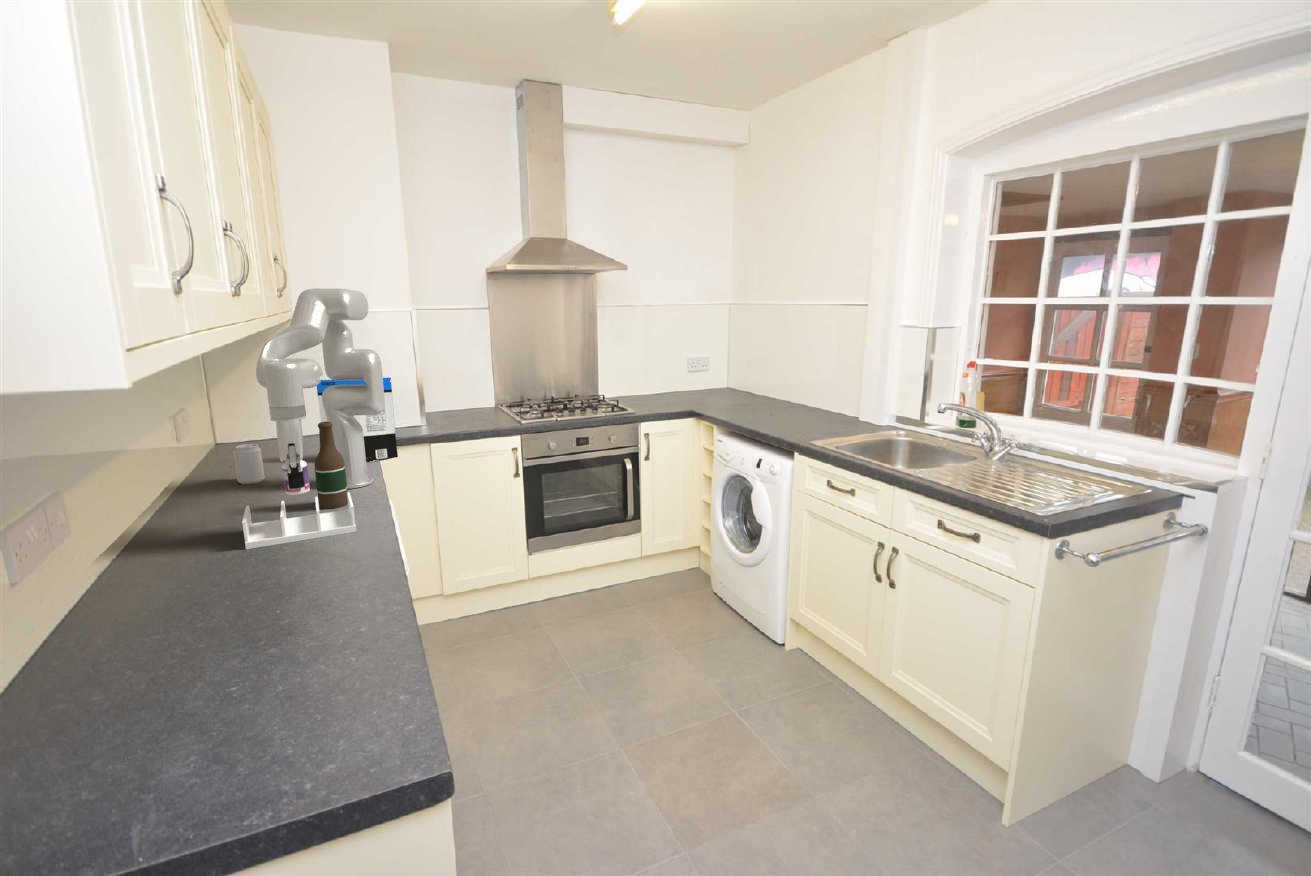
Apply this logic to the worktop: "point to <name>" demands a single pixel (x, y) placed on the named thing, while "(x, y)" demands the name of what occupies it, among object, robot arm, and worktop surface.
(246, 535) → the shelf rack
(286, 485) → the pill bottle
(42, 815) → the worktop surface
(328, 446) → the beer bottle
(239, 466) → the can
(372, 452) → the protein powder
